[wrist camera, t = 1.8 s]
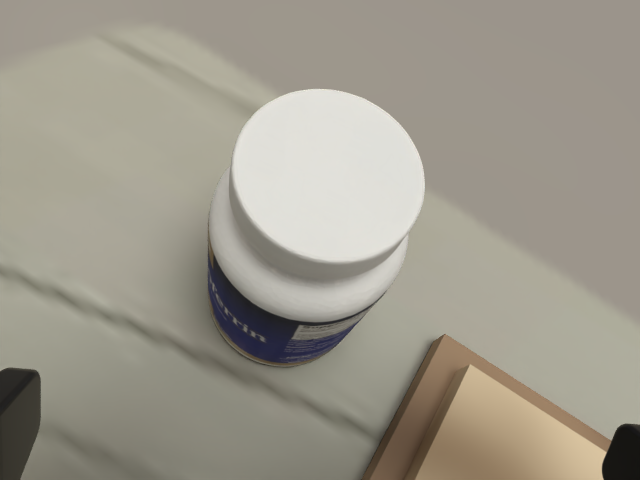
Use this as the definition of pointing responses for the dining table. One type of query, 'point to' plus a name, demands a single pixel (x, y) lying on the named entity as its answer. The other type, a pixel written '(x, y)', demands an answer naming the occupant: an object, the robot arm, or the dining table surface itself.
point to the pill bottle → (309, 224)
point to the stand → (481, 427)
